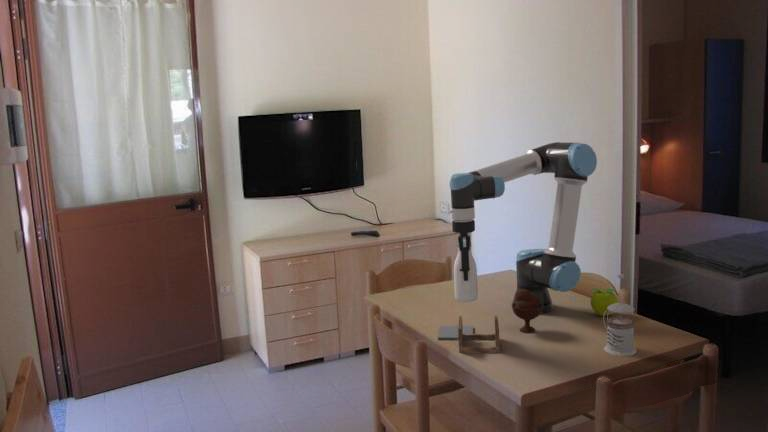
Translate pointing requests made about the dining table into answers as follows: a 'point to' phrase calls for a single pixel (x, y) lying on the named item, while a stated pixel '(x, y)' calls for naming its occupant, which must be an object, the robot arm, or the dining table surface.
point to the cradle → (479, 336)
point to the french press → (620, 330)
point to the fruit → (602, 301)
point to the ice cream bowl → (527, 308)
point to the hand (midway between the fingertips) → (465, 285)
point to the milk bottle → (459, 293)
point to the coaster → (454, 332)
